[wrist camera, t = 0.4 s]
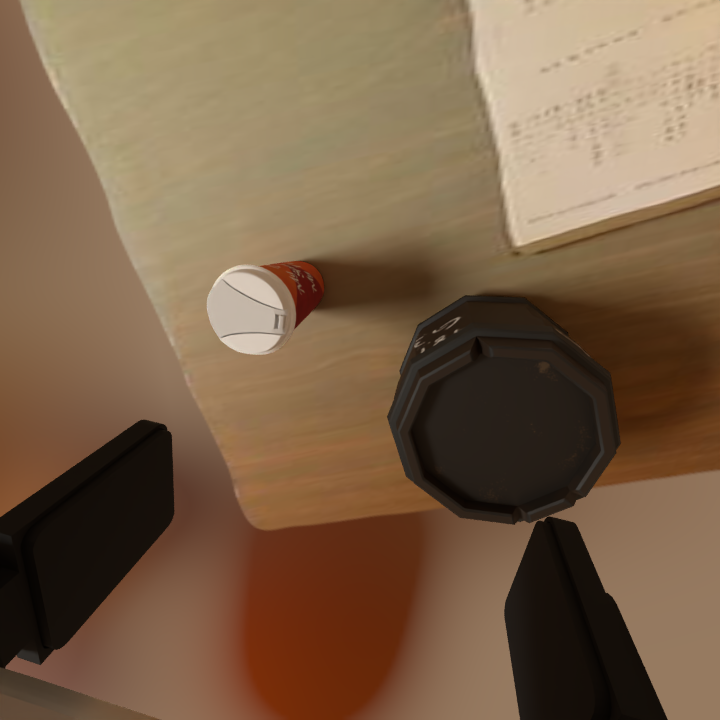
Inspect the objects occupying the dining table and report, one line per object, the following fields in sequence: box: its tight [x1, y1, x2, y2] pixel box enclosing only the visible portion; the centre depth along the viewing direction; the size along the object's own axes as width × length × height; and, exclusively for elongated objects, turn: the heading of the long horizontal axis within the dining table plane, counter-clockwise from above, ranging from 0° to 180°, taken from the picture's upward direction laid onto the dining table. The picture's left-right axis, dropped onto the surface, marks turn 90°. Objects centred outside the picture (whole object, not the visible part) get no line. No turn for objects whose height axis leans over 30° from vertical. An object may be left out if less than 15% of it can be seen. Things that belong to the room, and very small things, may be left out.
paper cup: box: [207, 261, 324, 355], centre depth 39 cm, size 8×8×14 cm
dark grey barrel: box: [387, 295, 621, 525], centre depth 38 cm, size 18×18×16 cm
